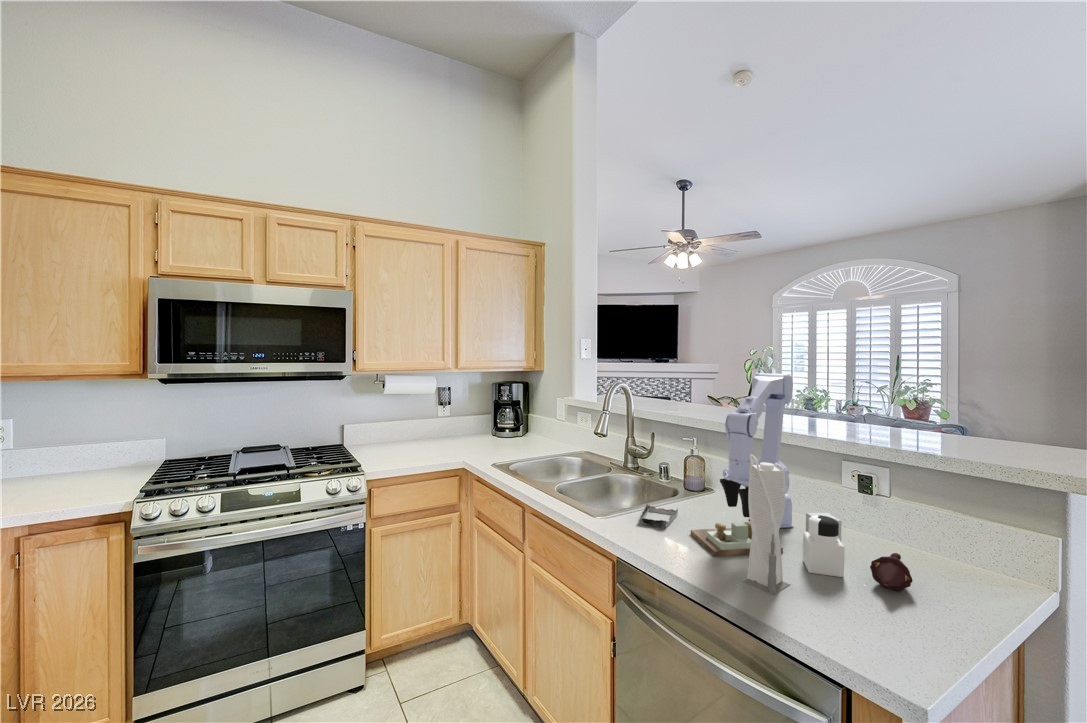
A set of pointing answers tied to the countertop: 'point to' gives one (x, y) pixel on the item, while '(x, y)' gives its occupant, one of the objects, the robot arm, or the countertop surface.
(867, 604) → the countertop surface
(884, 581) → the dark maroon knobbed disc
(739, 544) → the panel
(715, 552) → the board
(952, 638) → the countertop surface
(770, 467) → the skyscraper
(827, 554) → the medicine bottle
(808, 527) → the skincare box
